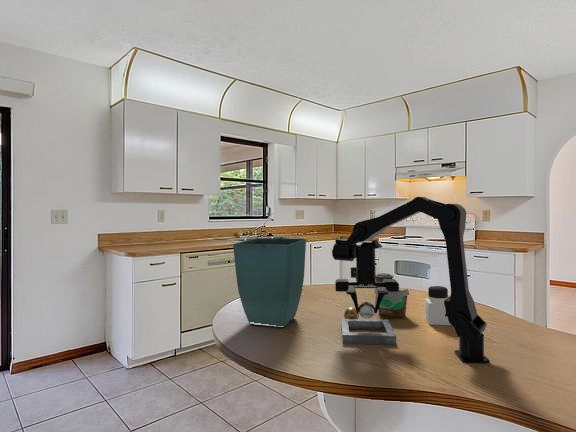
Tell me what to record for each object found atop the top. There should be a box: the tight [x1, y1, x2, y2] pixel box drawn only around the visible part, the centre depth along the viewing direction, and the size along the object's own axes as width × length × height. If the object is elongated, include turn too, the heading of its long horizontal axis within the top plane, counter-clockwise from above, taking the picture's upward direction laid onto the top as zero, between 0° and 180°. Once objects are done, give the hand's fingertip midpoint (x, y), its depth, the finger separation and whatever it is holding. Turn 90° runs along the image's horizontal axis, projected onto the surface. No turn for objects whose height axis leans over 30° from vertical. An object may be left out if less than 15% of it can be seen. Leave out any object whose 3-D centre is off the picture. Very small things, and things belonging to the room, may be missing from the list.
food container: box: [373, 288, 410, 320], centre depth 128 cm, size 12×6×10 cm, turn 62°
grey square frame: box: [340, 318, 397, 346], centre depth 110 cm, size 15×15×2 cm
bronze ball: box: [343, 307, 360, 319], centre depth 123 cm, size 5×5×5 cm
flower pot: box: [232, 237, 307, 327], centre depth 125 cm, size 20×20×28 cm
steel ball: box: [358, 301, 375, 319], centre depth 110 cm, size 5×5×5 cm
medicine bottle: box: [424, 285, 453, 327], centre depth 121 cm, size 7×7×12 cm
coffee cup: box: [376, 272, 394, 282], centre depth 156 cm, size 8×8×10 cm
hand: (366, 313), depth 110 cm, fingers closed on steel ball, 5 cm apart
